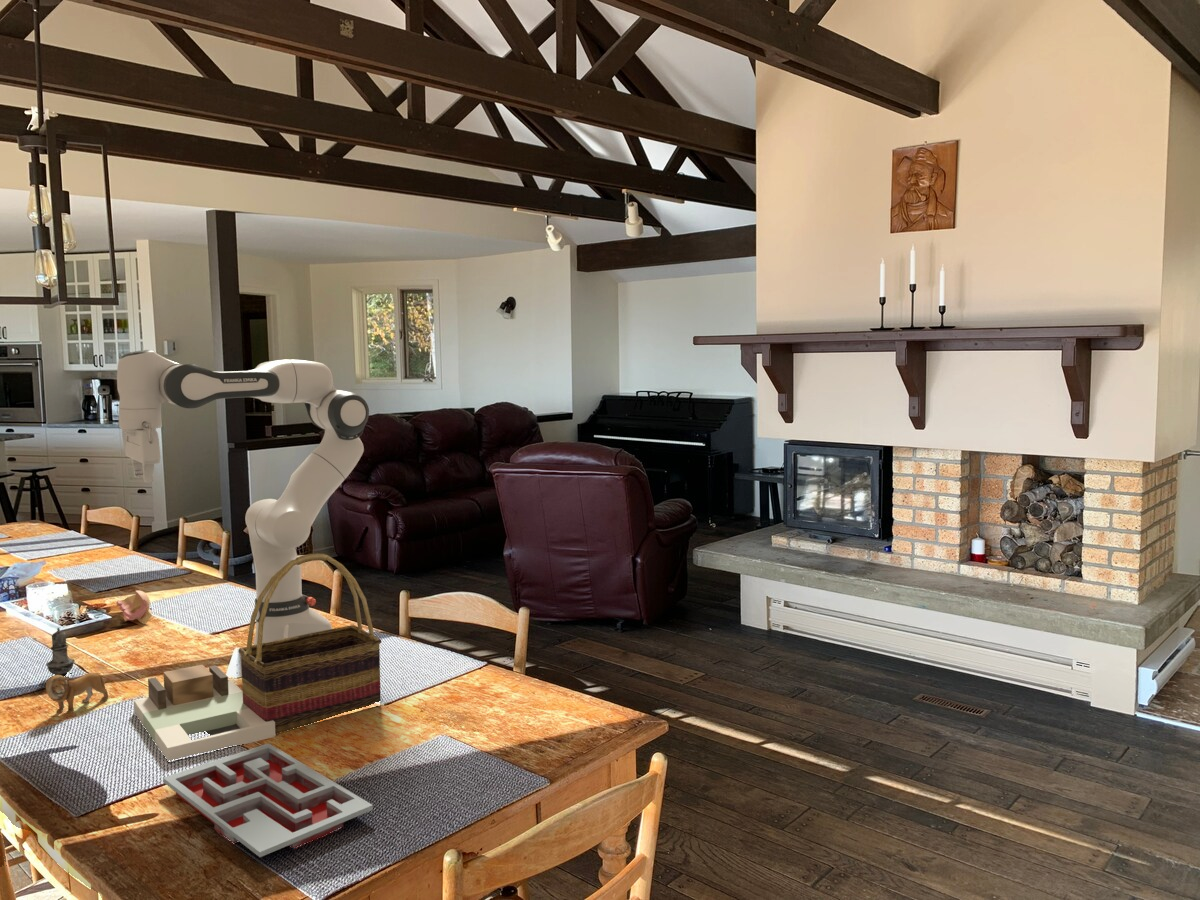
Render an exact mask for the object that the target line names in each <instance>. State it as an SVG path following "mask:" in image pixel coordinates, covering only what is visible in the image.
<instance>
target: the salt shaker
mask: <svg viewBox="0 0 1200 900" xmlns="http://www.w3.org/2000/svg"><path fill="white" fill-rule="evenodd" d="M51 645H52V646H51V647H50V650H52V651H51V652H52V657H51V660H50V661H48V662H46V664H45V666H46V668H47V670H48V671H49V673H51V674H52V675H53V674H55V675H62V676H65V675H66V674H67V672H70V671H71V670H72V669H73V667H74V663H75V661H76V659H74V658H70V657H69V655H68V648H69V644H67V635H66V632H65V631H63V630H62V631H61V628H59V627H57V629H56V631H55V632H54V633H52V634H51ZM72 673H73V672H71V673H70V674H72Z"/></svg>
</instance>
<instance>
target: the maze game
mask: <svg viewBox="0 0 1200 900" xmlns="http://www.w3.org/2000/svg"><path fill="white" fill-rule="evenodd" d="M162 782H163V783H164V785H166V786H167V787H168V788H170V789H171V790H172V791H174V792H175V795H176V796H177V795H178V796H177V797H179V799H181V800H182V799H183V800H182V801H184V802H185V803H186V802H187V803H186V804H188V805H189V806H190V807H191V806H192V808H193V809H194V810H196V811H197V812H198V813H199V814H200V815H202V816H203V817H204V818H206V820H208V821H209V822H211V823H212V824H213V825H214V830H216V831H215V832H217V831H218V832H219V833H221V834H222V835H224V836H225V837H227V838H228V839H229V840H231V842H233V843H235V842H237V841H239V842H240V843H241V844H242V845H243V846H245V847H246V848H247V849H249V850H250V851H251V852H252V853H253V854H255V855H256V856H257V857H259V858H262V857H265V856H267V855H269V854H270V853H273V852H276V851H279V850H281V849H283V848H285V847H288V845H289V846H291V847H293V848H294V847H297V846H300V845H301V844H304V843H307V842H309V841H312V840H315V839H317V838H319V837H322V836H324V835H326V834H329V833H330V832H332V831H334V830H336V829H338V828H340V827H343V828H344V823H345V822H347V821H349V820H352V819H355V818H356V817H359V816H362V815H364V814H366V813H369V812H371V811H373V810H374V809H373V806H374V805H373V804H372V803H370V802H368V801H367V800H365V799H364V798H361V797H360V796H358V795H356V794H355V793H354V792H352V791H350V790H348V789H347V788H345V787H344V786H342V785H340V784H338V783H337V782H335V781H333V780H331V779H329V778H328V777H327V776H324V775H323V774H322V773H320V772H317V771H316V770H314V769H313V768H311V767H309V766H308V765H306V764H305V763H303V762H301V761H299V760H297V759H296V758H295V757H293V756H291V755H290V754H287V753H286V752H285V751H282V750H281V749H279V748H278V747H276V746H274V745H272V744H271V743H269V742H268V743H265V744H262V745H259V746H256V747H252V748H249V749H247V750H244V751H240V752H238V753H234V754H231V755H228V756H225V757H222V758H220V759H215V760H212V761H210V762H207V763H204V764H200V765H198V766H195V767H191V768H189V769H186V770H183V771H180V772H179V771H178V772H177V773H173V774H171V775H167V776H164V777H162ZM339 802H340V803H341V804H340V803H339ZM218 832H217V833H218ZM219 833H218V834H219ZM221 834H220V835H221ZM222 835H221V836H222ZM329 835H330V834H329ZM324 837H325V836H324ZM322 838H323V837H322ZM317 840H318V839H317ZM315 841H316V840H315ZM231 842H230V843H231Z"/></svg>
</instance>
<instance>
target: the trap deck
mask: <svg viewBox="0 0 1200 900" xmlns="http://www.w3.org/2000/svg"><path fill="white" fill-rule="evenodd" d="M228 691H229V695H224V696H221V695H220V694H219V693H218V692H217V691H216V690H215V689H214V688H213V697H211V698H207V699H202V700H197V701H193V702H188V703H184V704H179V705H173V704H172V703H171V702H170V701H169V699H168V698H167V697H166V708H164V709H160V710H159V709H158V708H157V707H156V706H155V704H154V703H153V702H152V700H151V699H150V698H149V696H147V697H142V698H137V699H133V713H135V714H136V715H135V714H134V715H135V717H136V716H137V717H138V718H139V720H140V721H141V723H142V724H143V726H144V727H145V728H146V730H147V731H148V733H149V734H150V736H151V737H152V739H153V740H154V741H155V743H156V744H157V746H158V747H159V749H160V750H161V751H162V753H163V754H164V755H165V757H166V758H167V760H168V761H169V760H173V759H178V758H181V757H186V756H189V755H194V754H198V753H204V752H208V751H212V750H216V749H220V748H224V747H229V746H233V745H240V746H243V745H242V744H244V745H246V744H247V745H248V744H251V743H256V742H259V741H263V740H267V739H271V738H275V737H276V734H275V722H274V721H273V720H272V721H268V722H265V721H264V720H263V719H262V718H260V717H259V716H258V715H257V714H256V713H254V712H253V711H252V710H251V709H250V708H248V707H247V706H246V705H245V704H244V703H243V691H242V689H241V688H240V687H239V686H238V685H237V684H236V683H235V682H234V681H232V679H228ZM137 717H136V718H137ZM138 718H137V719H138ZM139 720H138V721H139ZM140 721H139V722H140ZM141 723H140V724H141ZM142 724H141V725H142ZM143 726H142V727H143ZM144 727H143V728H144ZM146 730H145V731H146ZM147 731H146V732H147ZM204 731H206V732H207V733H208V734H210V736H207V737H203V738H199V739H195V740H191V739H190V737H189V736H188V735H189V734H194V733H199V732H204ZM148 733H147V734H148ZM149 734H148V735H149ZM204 734H205V732H204ZM211 735H212V736H211ZM150 736H149V737H150ZM151 737H150V738H151ZM152 739H151V740H152ZM153 740H152V741H153ZM155 743H154V744H155ZM157 746H156V747H157ZM158 747H157V748H158ZM159 749H158V750H159ZM160 750H159V751H160ZM162 753H161V754H162Z"/></svg>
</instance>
